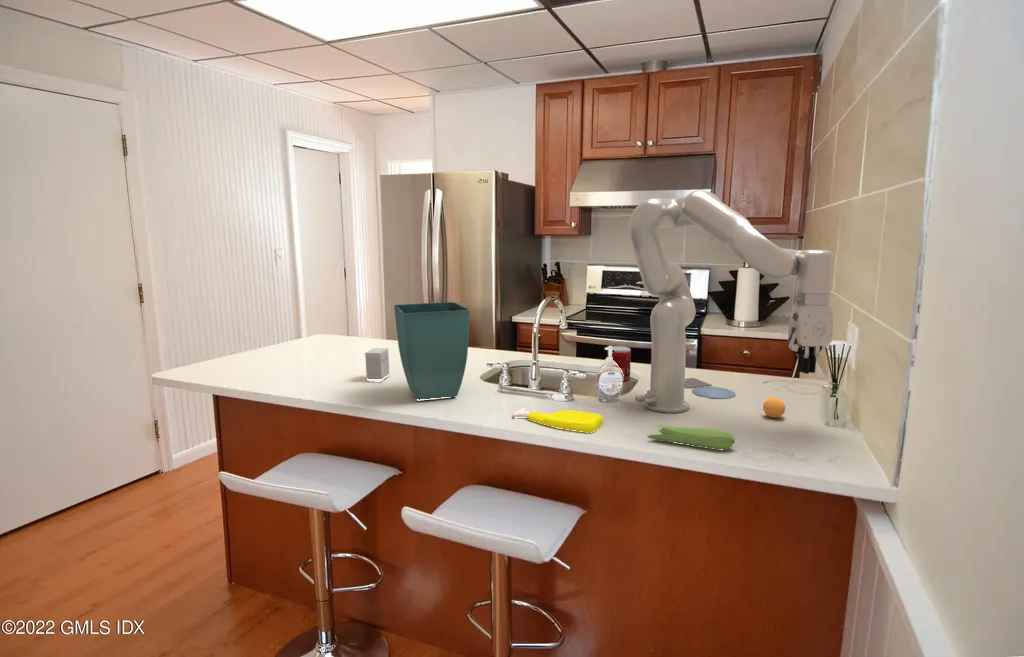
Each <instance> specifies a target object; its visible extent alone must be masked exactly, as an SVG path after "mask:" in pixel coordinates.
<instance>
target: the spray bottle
mask: <svg viewBox="0 0 1024 657" xmlns="http://www.w3.org/2000/svg"><path fill="white" fill-rule="evenodd" d="M513 416H514V417H526V418H528V419H530V420H533V421H536V422H539V423H542V424H546V425H549V426H554V427H559V428H563V429H569V430H576V431H583V432H593V431H595V430H596V429H597V428H598V429H600V428H601V427H602V425H603V424H602V423H604V422H603V421H604V417H603V416H602V414H599V413H595V412H587V411H581V410H580V411H579V410H574V409H573V410H572V409H569V410H567V409H566V410H558V411H555V412H552V413H541V412H538V411H537V410H526V408H525V407H522V408H519V409H517V410H516V411H515V412H513V413H512V417H513ZM528 419H527V420H528ZM530 420H529V421H530ZM533 421H532V422H533ZM600 426H601V427H600ZM599 427H600V428H599ZM598 429H597V430H598ZM597 430H596V431H597ZM596 431H595V432H596Z"/></svg>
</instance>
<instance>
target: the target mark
mask: <svg viewBox="0 0 1024 657" xmlns="http://www.w3.org/2000/svg"><path fill="white" fill-rule="evenodd" d="M691 392H692V394H694V395H695V394H696V396H698V397H701V396H702V398H705V397H707V399H713V398H715V400H721V399H722V400H727V398H728V399H732V398H735V397H736V395H737V394H736V392H735V391H734V390H732V389H727V388H725V387H724V388H723V387H719V386H718V387H717V386H705V387H696V388H692V390H691Z"/></svg>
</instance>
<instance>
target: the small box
mask: <svg viewBox="0 0 1024 657" xmlns="http://www.w3.org/2000/svg"><path fill="white" fill-rule="evenodd" d="M364 355H365V356H364V358H365V372H366V373H365V374H366V379H367V378H368V379H382V378H384V377H385V376H387V375H388V374H389V375H390V359H389V358H390V357H389V355H390V354H389V348H383V347H382V348H381V347H379V348H378V347H373V348H372V349H370V350H368V351H366V352H365V353H364Z"/></svg>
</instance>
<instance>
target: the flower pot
mask: <svg viewBox="0 0 1024 657" xmlns="http://www.w3.org/2000/svg"><path fill="white" fill-rule="evenodd" d="M393 307H394V315H395V316H394V318H395V325H396V334H397V344H398V350H399V356H400V361H401V365H402V369H403V372H404V376H405V379H406V382H407V386H408V388H409V391H410V390H411V391H410V392H411V393H413V394H412V395H414V396H415V397H414V396H413V397H414V398H416V399H419V400H420V399H430V398H441V397H455V396H457V397H458V394H459V391H460V389H461V386H462V383H463V379H464V375H465V371H466V367H467V361H468V352H469V336H470V323H471V322H470V321H471V309H470V308H468V307H466V306H464V305H462V304H459V303H458V302H453V301H449V302H448V301H445V302H423V303H422V302H421V303H405V304H404V303H402V304H394V305H393ZM416 399H415V400H416Z"/></svg>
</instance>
